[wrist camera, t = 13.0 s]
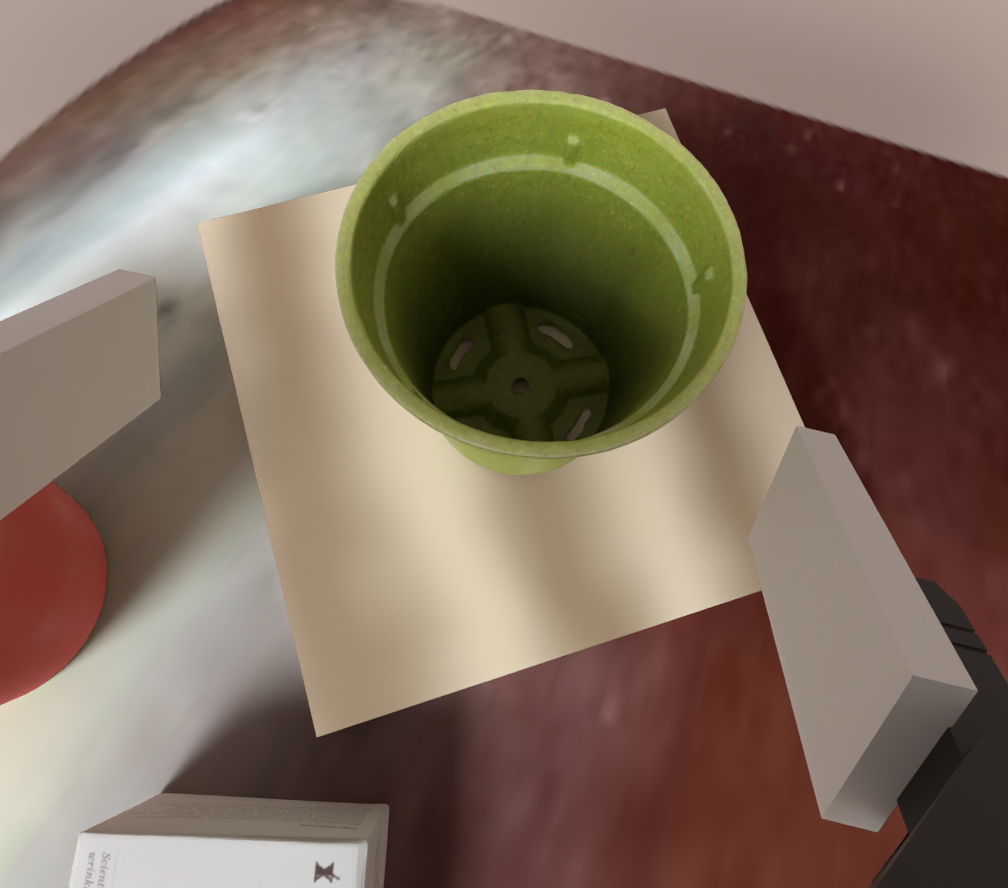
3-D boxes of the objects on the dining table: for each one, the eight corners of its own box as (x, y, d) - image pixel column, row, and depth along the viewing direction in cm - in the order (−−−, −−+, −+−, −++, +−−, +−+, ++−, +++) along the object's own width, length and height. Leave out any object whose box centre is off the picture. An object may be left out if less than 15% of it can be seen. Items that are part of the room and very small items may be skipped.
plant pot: (474, 220, 27) (473, 26, 19) (705, 346, 26) (813, 201, 18) (327, 431, 25) (249, 318, 16) (574, 579, 24) (627, 539, 15)
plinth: (648, 158, 31) (665, 108, 28) (820, 567, 27) (862, 557, 24) (224, 265, 29) (196, 223, 26) (335, 727, 25) (316, 737, 22)
